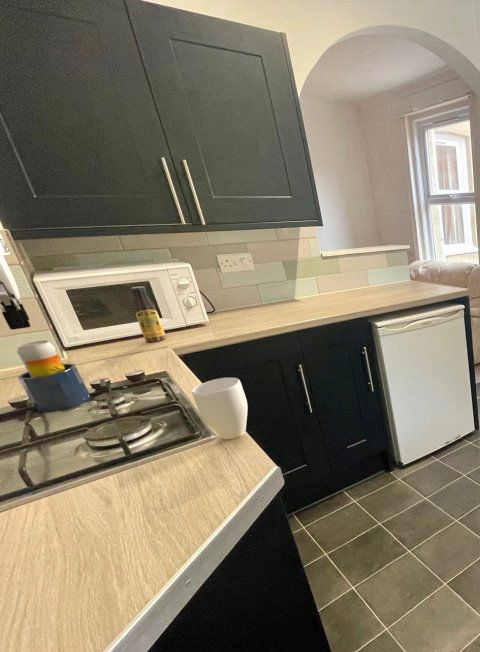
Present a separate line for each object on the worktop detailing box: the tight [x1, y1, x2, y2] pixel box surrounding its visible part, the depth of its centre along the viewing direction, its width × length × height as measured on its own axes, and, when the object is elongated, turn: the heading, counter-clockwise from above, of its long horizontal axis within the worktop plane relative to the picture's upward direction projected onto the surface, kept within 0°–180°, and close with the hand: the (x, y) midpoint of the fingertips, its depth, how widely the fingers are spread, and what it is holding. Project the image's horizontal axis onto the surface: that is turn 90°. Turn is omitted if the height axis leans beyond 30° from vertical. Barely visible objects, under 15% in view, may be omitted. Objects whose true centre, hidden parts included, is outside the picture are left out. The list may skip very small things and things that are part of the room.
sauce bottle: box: [130, 286, 166, 343], centre depth 154 cm, size 6×6×20 cm
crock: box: [17, 363, 92, 413], centre depth 106 cm, size 10×10×9 cm
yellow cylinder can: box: [16, 340, 66, 378], centre depth 104 cm, size 6×6×15 cm
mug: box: [191, 377, 249, 440], centre depth 87 cm, size 12×8×11 cm
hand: (20, 324), depth 99 cm, fingers open, 9 cm apart
